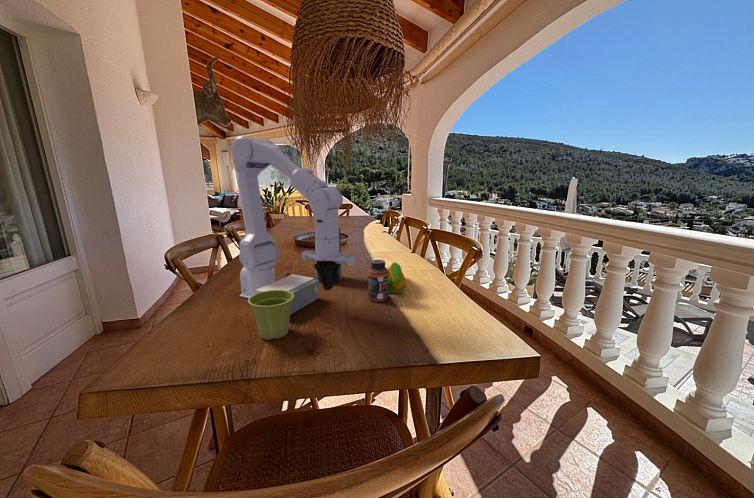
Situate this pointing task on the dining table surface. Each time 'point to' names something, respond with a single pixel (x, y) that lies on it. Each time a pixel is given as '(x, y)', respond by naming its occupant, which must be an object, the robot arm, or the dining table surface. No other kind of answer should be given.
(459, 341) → the dining table surface
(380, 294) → the supplement bottle
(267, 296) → the plant pot
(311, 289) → the door
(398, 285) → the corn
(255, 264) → the robot arm
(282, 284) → the cabinet
